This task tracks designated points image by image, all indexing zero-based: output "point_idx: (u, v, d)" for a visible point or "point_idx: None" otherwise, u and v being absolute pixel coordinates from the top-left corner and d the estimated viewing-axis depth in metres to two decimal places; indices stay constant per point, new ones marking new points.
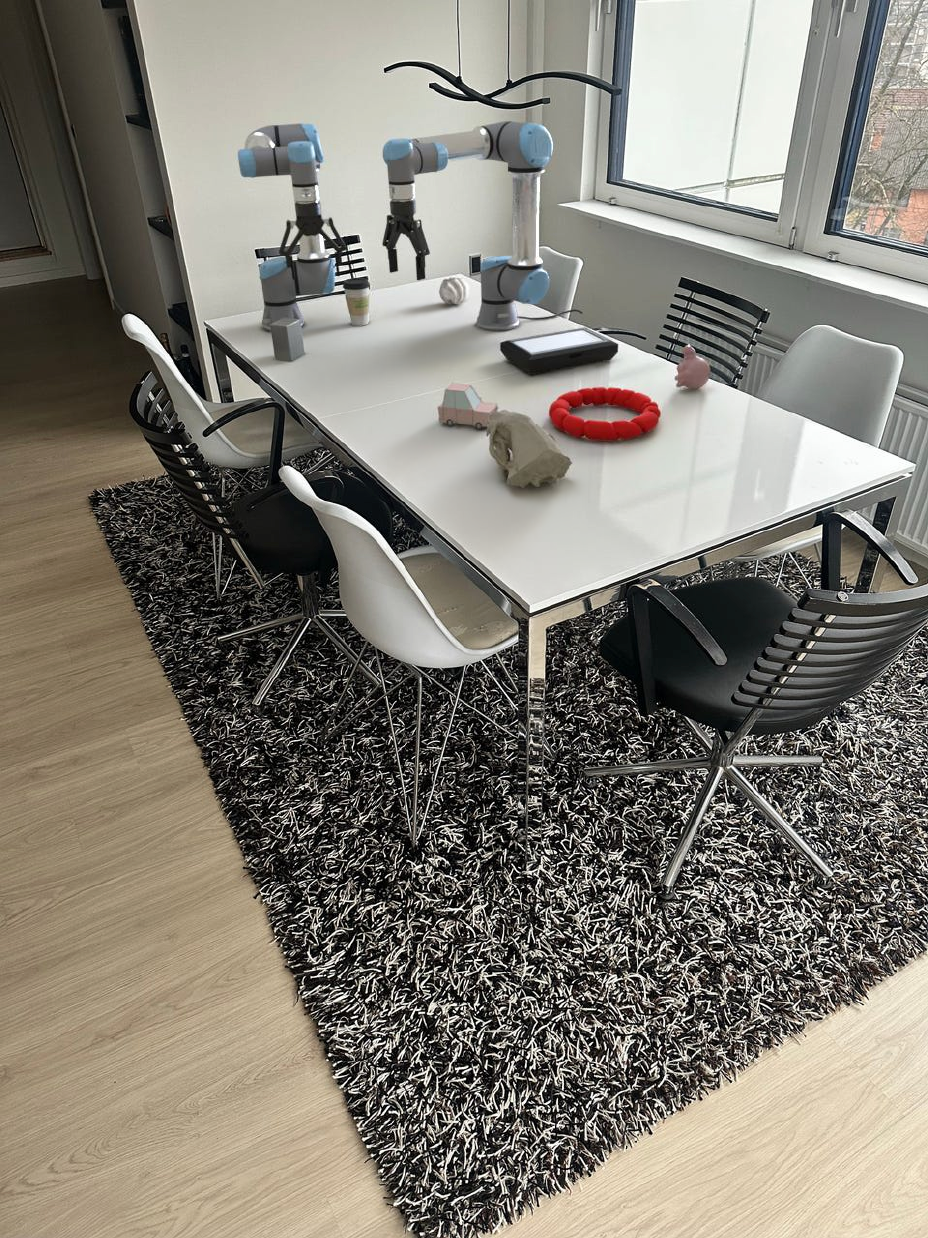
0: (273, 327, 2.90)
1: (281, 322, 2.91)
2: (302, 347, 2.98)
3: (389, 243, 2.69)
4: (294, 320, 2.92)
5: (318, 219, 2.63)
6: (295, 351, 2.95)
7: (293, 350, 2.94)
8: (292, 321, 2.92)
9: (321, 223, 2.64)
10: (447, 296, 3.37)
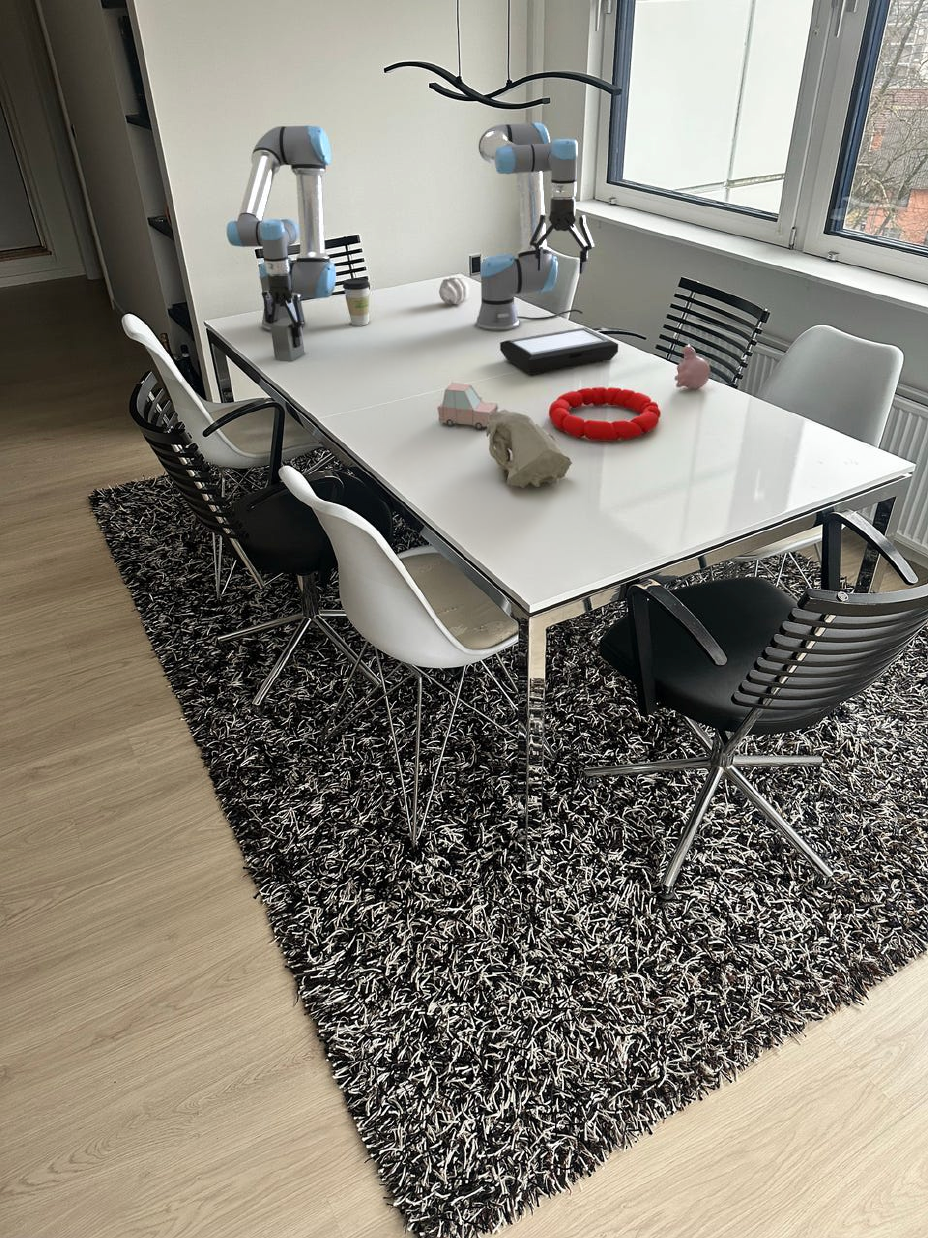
0: (273, 327, 2.90)
1: (281, 322, 2.91)
2: (302, 347, 2.98)
3: (540, 242, 2.77)
4: None
5: (286, 290, 2.84)
6: (295, 351, 2.95)
7: (293, 350, 2.94)
8: None
9: (288, 294, 2.84)
10: (447, 296, 3.37)
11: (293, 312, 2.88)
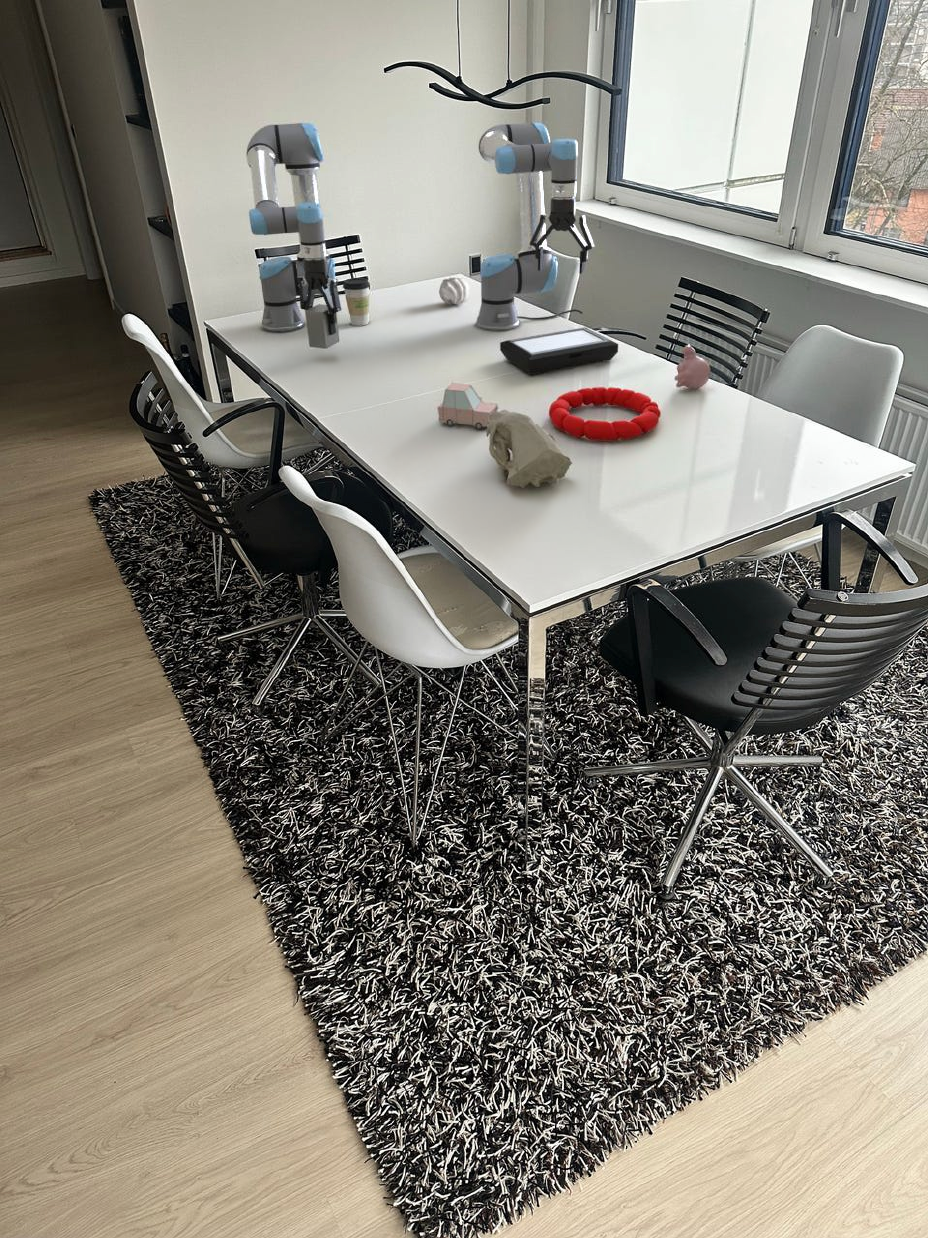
0: (308, 313, 2.83)
1: (316, 308, 2.84)
2: (337, 334, 2.91)
3: (540, 242, 2.77)
4: None
5: (322, 275, 2.77)
6: (330, 339, 2.88)
7: (328, 338, 2.87)
8: None
9: (324, 279, 2.78)
10: (447, 296, 3.37)
11: (329, 298, 2.82)
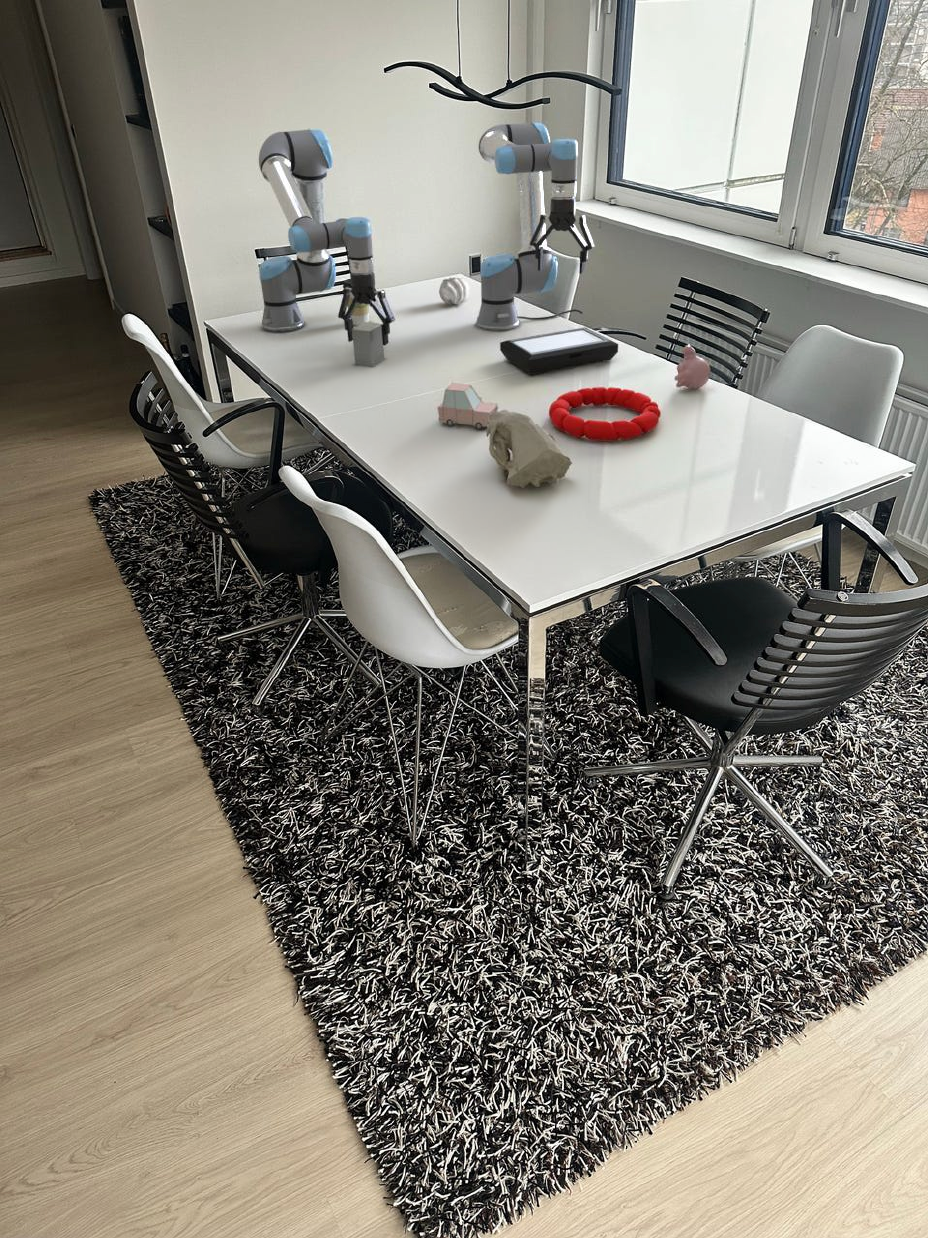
0: (355, 332, 2.83)
1: (363, 326, 2.84)
2: (382, 352, 2.91)
3: (540, 242, 2.77)
4: (376, 325, 2.86)
5: (369, 290, 2.76)
6: (376, 357, 2.88)
7: (375, 356, 2.87)
8: (374, 326, 2.85)
9: (371, 294, 2.77)
10: (447, 296, 3.37)
11: (380, 309, 2.80)
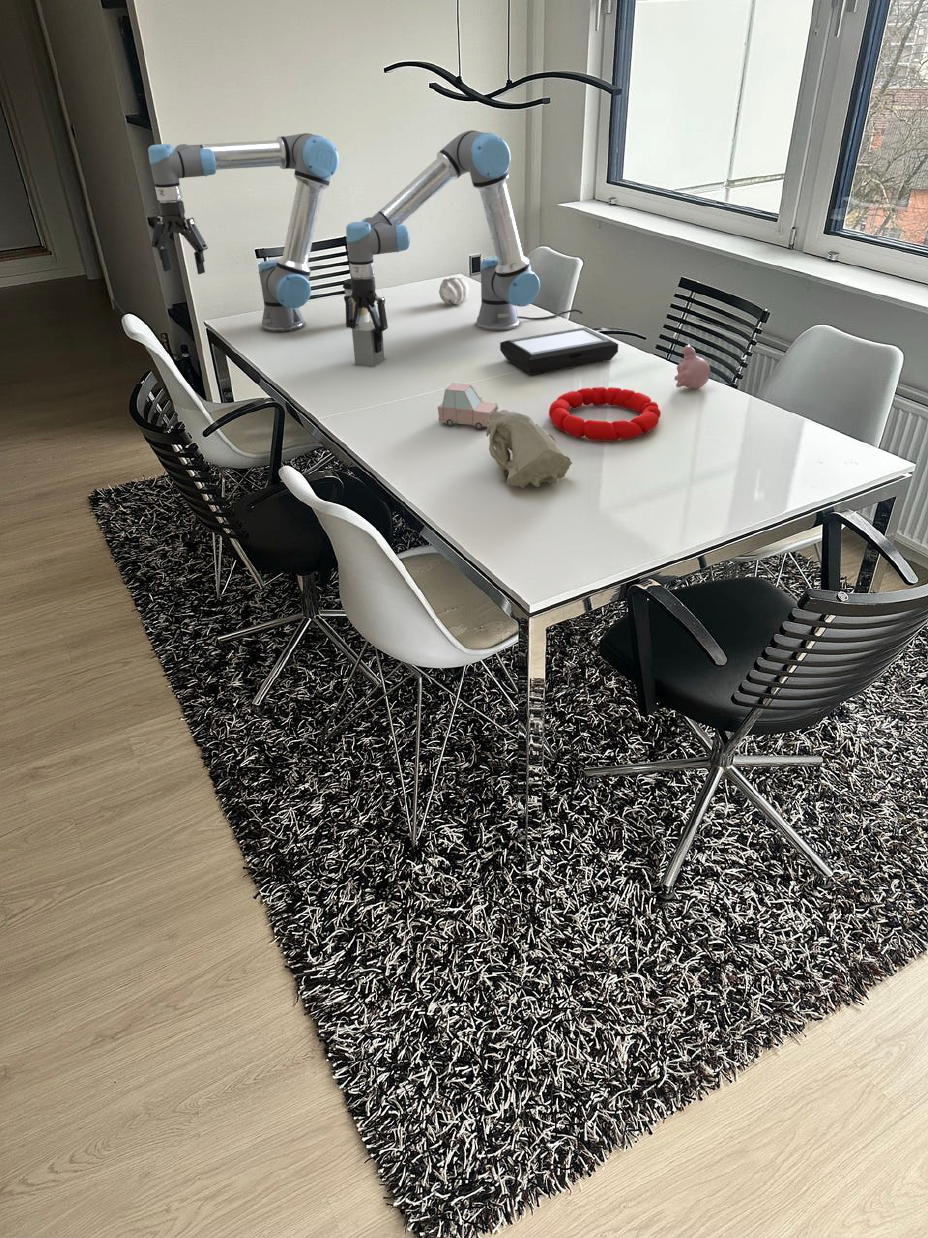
0: (355, 332, 2.83)
1: (363, 326, 2.84)
2: (382, 352, 2.91)
3: (354, 322, 2.84)
4: None
5: (178, 218, 2.79)
6: (376, 357, 2.88)
7: (375, 356, 2.87)
8: (374, 326, 2.85)
9: (181, 222, 2.79)
10: (447, 296, 3.37)
11: (191, 238, 2.82)
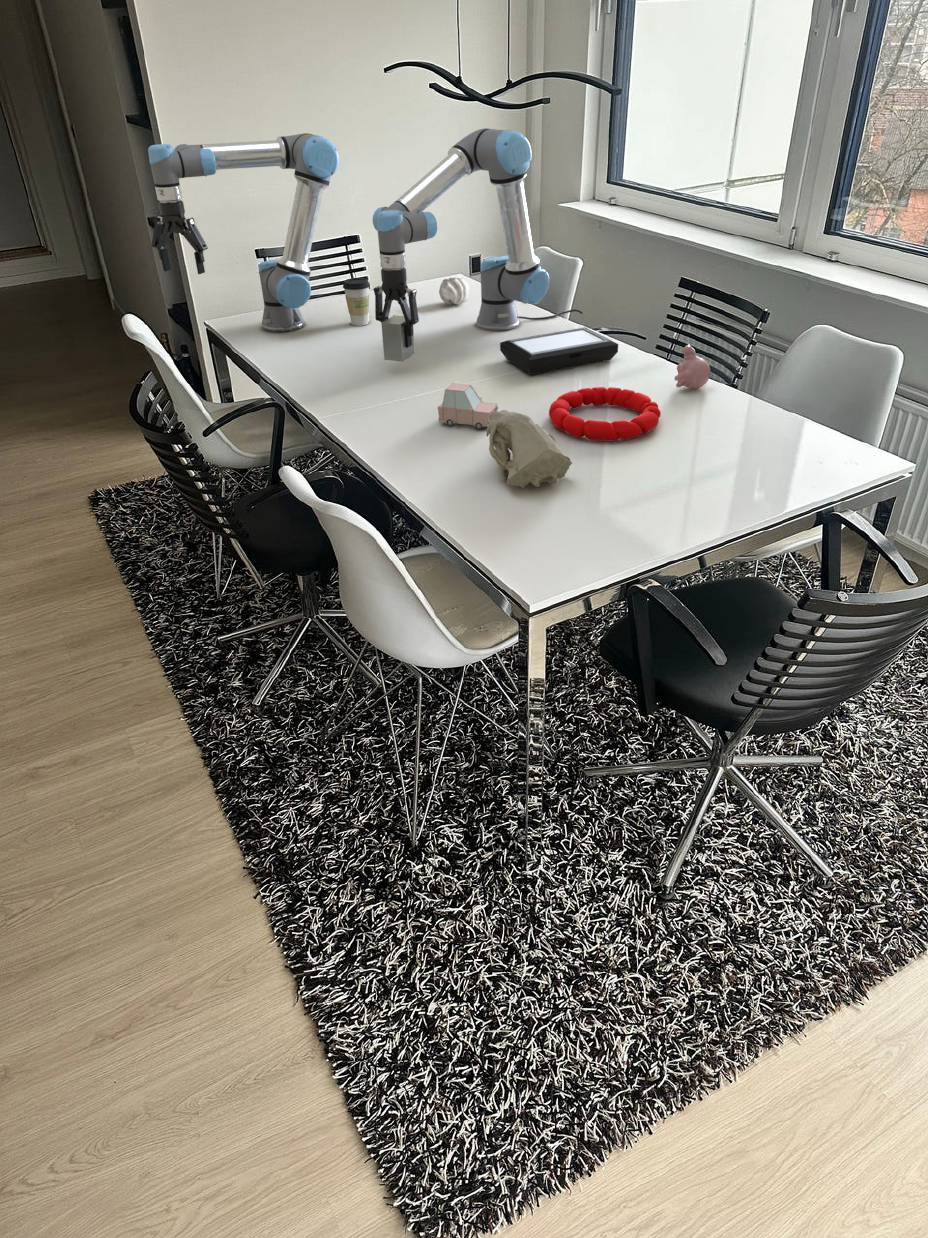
0: (384, 325, 2.72)
1: (393, 320, 2.73)
2: (412, 347, 2.80)
3: (384, 316, 2.73)
4: None
5: (178, 218, 2.79)
6: (406, 351, 2.77)
7: (405, 350, 2.76)
8: (404, 319, 2.74)
9: (181, 222, 2.79)
10: (447, 296, 3.37)
11: (191, 238, 2.82)
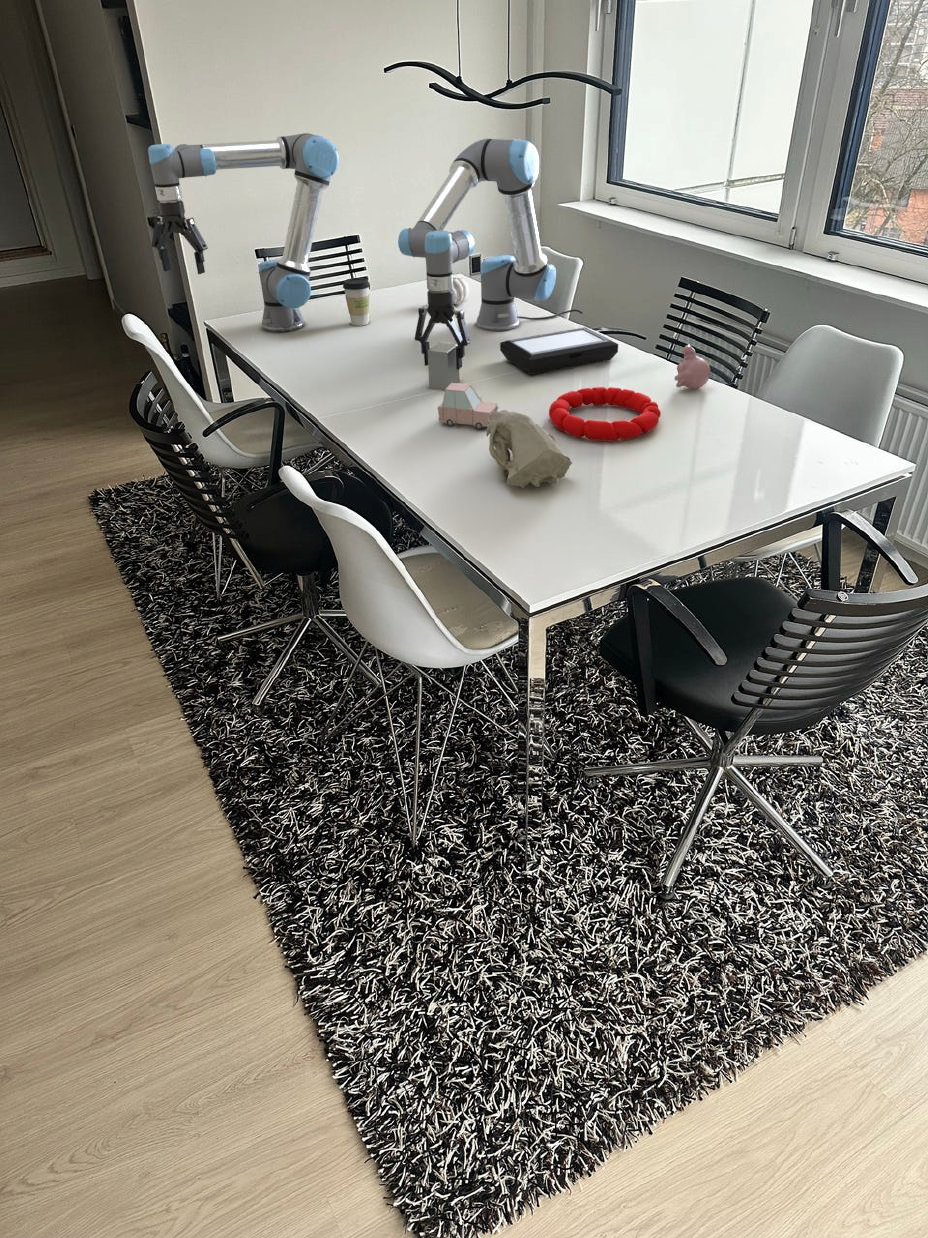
0: (430, 353, 2.63)
1: (439, 347, 2.64)
2: (458, 374, 2.72)
3: (424, 336, 2.64)
4: (452, 345, 2.66)
5: (178, 218, 2.79)
6: (452, 379, 2.68)
7: (451, 378, 2.67)
8: (451, 346, 2.65)
9: (181, 222, 2.79)
10: None
11: (191, 238, 2.82)
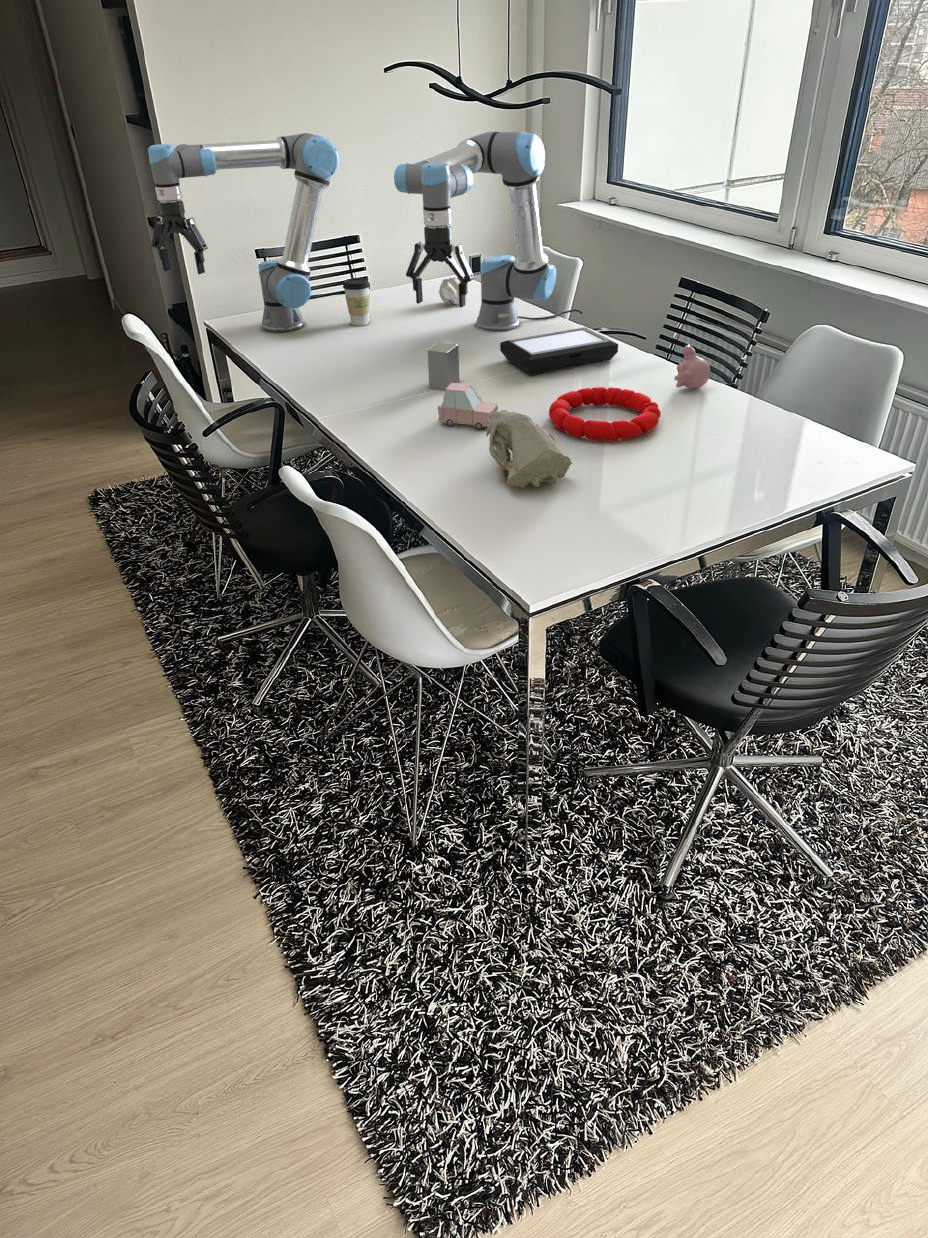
0: (430, 353, 2.63)
1: (439, 347, 2.64)
2: (458, 374, 2.72)
3: (417, 273, 2.54)
4: (452, 345, 2.66)
5: (178, 218, 2.79)
6: (452, 379, 2.68)
7: (451, 378, 2.67)
8: (451, 346, 2.65)
9: (181, 222, 2.79)
10: (447, 296, 3.37)
11: (191, 238, 2.82)
